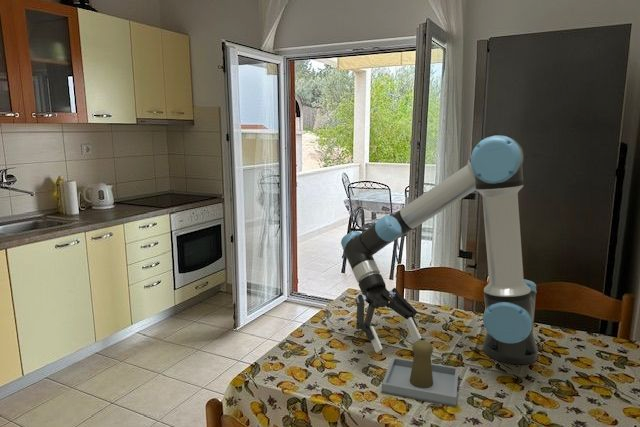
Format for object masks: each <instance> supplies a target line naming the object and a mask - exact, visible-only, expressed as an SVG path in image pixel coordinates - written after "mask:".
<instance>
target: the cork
mask: <svg viewBox="0 0 640 427" xmlns="http://www.w3.org/2000/svg"><path fill="white" fill-rule="evenodd" d="M413 342H414V341H413ZM411 348H412V349H411V350H412V353H413V354H414V355H413V359H412V360H413V365H412V370H411V376H410V383H411V384H412V385H413V386H415V387H418V388H429V387H431V386H432V385H433V376H432V366H431V363H432V358H431V356H432V355H433V352H434V347H433V345H432V343H430V342H429V341H427V340H424V339H423V340H421V339H420V340H418V341H416V342H414V343H413V345H412V347H411Z"/></svg>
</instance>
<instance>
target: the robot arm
mask: <svg viewBox="0 0 640 427" xmlns="http://www.w3.org/2000/svg"><path fill="white" fill-rule="evenodd" d="M524 159H525V152H524V149H523V147H522V146H521V144H520V143H519V142H518V141H517V140H515V138H512V137H509V136H506V135H500V134H499V135H496V134H495V135H492V136H488V137H485V138H483V139H482V140H480V141H479V142H478V143H477V144H476V145H475V147H474V148H473V150H472V152H471V156H470V159H468V162H467V164H466V165H464V166H463V167H461V168H460V169H459V170H458V171H456V172H455V173H453V174H452V175H450V176H449V177H446V179H444V180H442V181H441V182H440V183H438V184H437V185H435V186H433V187H432V188H431V189H429V190H428V191H426V192H424V193H423V194H421V195H420V196H418V197H417V198H415V199H414V200H412V201H411V202H409V203H408V204H406V205H405V206H404V207H402V208H401V209H399V210H397V211H396V212H394V213H393V214H392V215H390V214H386V215H384V216H382V217H381V218H379V219H378V220H376V222H374V223H373V224H372V225H370V227H368V228H367V229H365V230H364V231H363V232H361V231H358V230H353V231H350V232H349V233H347V234H345V235H344V236H343V237H342V238H341V241H340V245H341V247H342V250H343V254H344V255H345V258H346V259H347V261H348V264H349V266H350V268H351V270H352V273H353V276H354V278H355V280H356V282H357V283H358V287H359V289H360V291H361V293H360V294H358V295H357V296H356V298H355V302H356V326H355V327H356V329H357V330H361V331H362V332H364V333H365V335H366V338H367V339H368V341H369V342H371V344H372V346H373V349H374V351H375V353H378V354H379V352H381V351H382V350H383V346H382V343H381V341H380V339H379V336H378V334H377V332H376V330H375V328H374V325H373V326H371V323H372V321H373V316H374V314H375V310H378V309H380V308H381V309H382V308H385V307H386V308H388V309H391V310H392V311H394V312H395V313H397V315H398V316H401V317H402V318H403V319H406V320H405V321H404V322H405V325H406V326H407V329H408V331H409V333H410V336H411V337H412V339H413V342H416V341H419V340H421V339H422V336H421V334H420V331H419V329H418V324H417V322H416V320H415V318H414V317H415V315H417V313H418V311H417V310H416V309H415V308H414V307H413V305H411V304H410V303H409V302H408V301H407V300H406V299H405V298H404V297H403V296H402V295H401V294H400V292H399V291H398V289H397V288H396V287H393V288H391V290H388V289H387V286H386V281H385V280H384V277H383V276H382V274H381V271H380V269H379V267H378V265H377V263H376V261H375V259H374V255H375V254H376V253H378V252H380V251H381V250H382V249H384V248H385V247H386V246H388V245H390V244H391V243H393V242H395V241H396V240H398V239H400V238H403V237H404V236H405V235H407V234H408V233H409V232H410V231H413V230H414V229H416V228H417V227H418V226H421V225H422V224H424V223H425V222H427V221H429V220H430V219H431V218H433V217H434V216H436V215H438V214H440V213H441V212H443V211H444V210H446V209H448V208H449V207H450V206H453V205H454V204H455V203H457V202H459V201H461V199H464V198H466V197H468V195H470V194H472V193H473V192H475V191H476V192H478V193H479V194H480V195H481V197H482V206H483V207H482V208H483V220H484V234H485V245H486V247H485V248H486V259H487V260H486V261H487V271H488V272H487V273H488V274H487V275H488V283H487V285H485V287H484V288H483V297H484V298H483V299H484V300H483V301H484V311H483V315H482V321H483V326H484V327H483V328H484V329H485V331H486V332H487V333H486V335H485V337H484V339H483V342H482V344H483V345H482V350H483V352H484V353H485V354H486V355H487V356H488V357H490V358H492V359H494V360H496V361H499V362H503V363H504V364H505V363H506V364H510V365H529V364H532V363H535V362H536V361H537V360H538V353H539V352H538V351H539V350H538V346H537V343H536V339H535V338H536V337H535V335H534V322H535V321H534V320H535V310H536V308H535V307H536V294H537V284H536V283H535V282H534V281H532V280H528V279H525V278H524V266H523V253H522V251H523V250H522V237H521V223H520V211H519V210H520V209H519V196H518V193H519V191H520V190H521V189H522V188H523V187H524V175H523V173H524V172H523V163H524ZM365 302H366V303H367V304H368V306H367V311H366V314H365Z"/></svg>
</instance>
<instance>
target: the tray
mask: <svg viewBox="0 0 640 427" xmlns="http://www.w3.org/2000/svg"><path fill="white" fill-rule="evenodd" d="M412 365H413V359H407V358H401V357H395V356H392V357H391V359H390V362H389V366H388V367H387V370H386V372H385V374H384V377H383V380H382V382H381V394H385V395H391V396H394V397H395V396H396V397H401V398H405V399H406V398H407V399H412V400H417V401H423V402H428V403H433V404H439V405H443V406H447V407H448V406H449V407H453V408H456V407H457V397H458V384H459V370H460V368H459V367H457V366H456V367H455V366H452V365H451V366H450V365H443V364H438V363H434V362H433V363H432V362H431V366H432V376H433V385H432V386H431V387H429V388H418V387H415V386H413V385H412V384H411V383H410V376H411V370H412Z"/></svg>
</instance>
